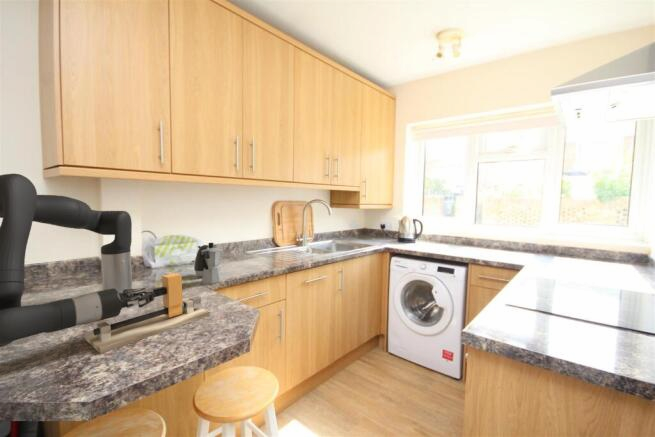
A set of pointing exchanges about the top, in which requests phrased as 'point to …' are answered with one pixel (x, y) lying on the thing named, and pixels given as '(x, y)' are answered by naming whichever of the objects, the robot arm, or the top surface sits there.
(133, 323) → the linear slide rail
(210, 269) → the coffee maker
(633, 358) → the top surface
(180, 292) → the upright wooden block
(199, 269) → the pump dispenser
